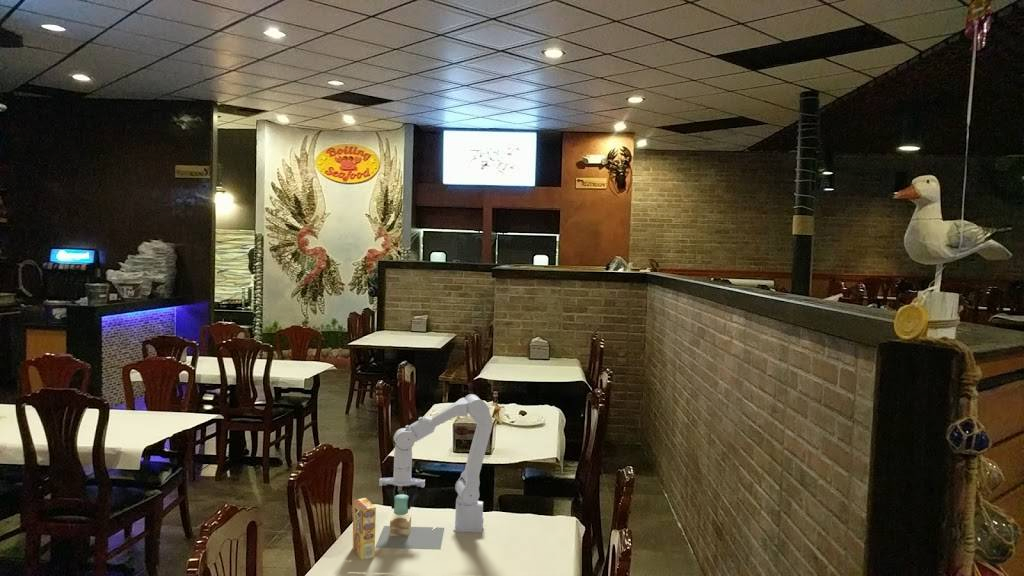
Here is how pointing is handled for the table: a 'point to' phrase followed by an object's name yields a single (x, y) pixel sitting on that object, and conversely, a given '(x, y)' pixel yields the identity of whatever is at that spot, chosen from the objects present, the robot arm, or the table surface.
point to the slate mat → (412, 538)
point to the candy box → (364, 528)
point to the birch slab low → (400, 532)
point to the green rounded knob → (401, 504)
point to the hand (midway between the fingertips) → (401, 507)
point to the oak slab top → (400, 521)
